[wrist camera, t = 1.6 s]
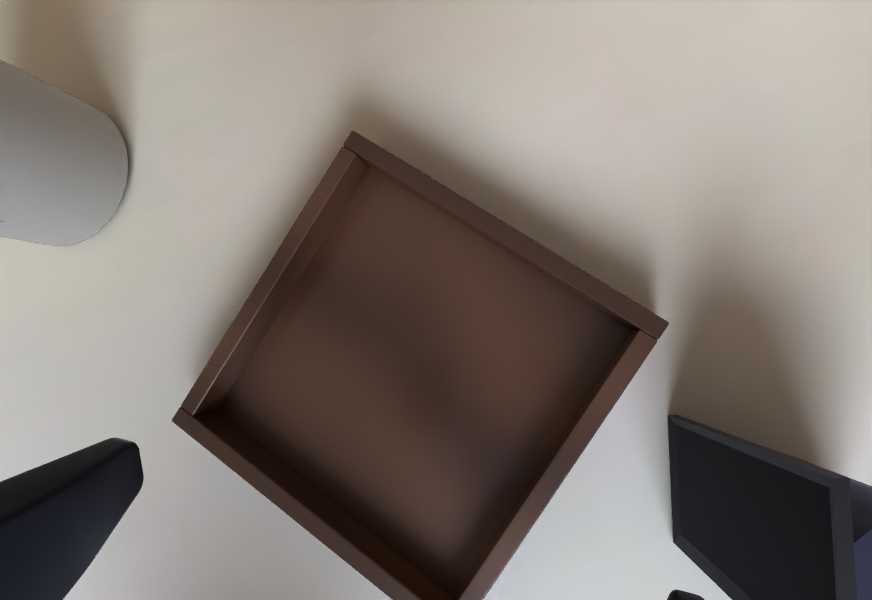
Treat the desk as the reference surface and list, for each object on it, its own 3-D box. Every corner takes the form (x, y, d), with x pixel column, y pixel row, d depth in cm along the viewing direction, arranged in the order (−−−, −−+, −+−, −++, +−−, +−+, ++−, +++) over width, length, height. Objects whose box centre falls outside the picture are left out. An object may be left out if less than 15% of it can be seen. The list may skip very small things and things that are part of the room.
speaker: (625, 540, 23) (741, 702, 13) (668, 411, 23) (816, 465, 13) (806, 610, 22) (1088, 844, 12) (848, 475, 22) (1161, 589, 12)
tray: (460, 615, 24) (450, 647, 22) (205, 412, 27) (170, 420, 25) (656, 324, 24) (670, 322, 21) (370, 149, 27) (351, 129, 24)
